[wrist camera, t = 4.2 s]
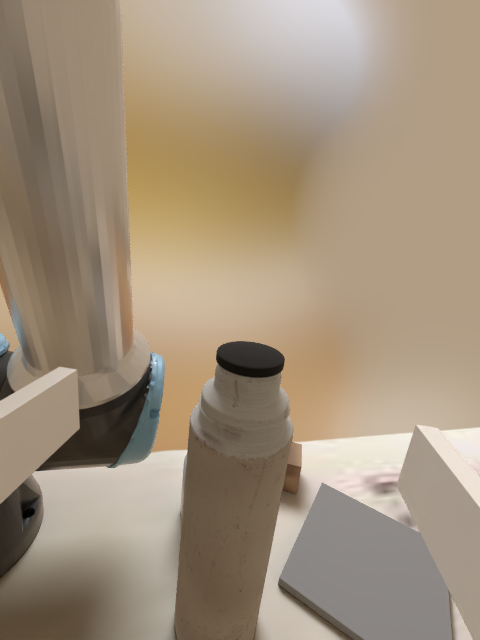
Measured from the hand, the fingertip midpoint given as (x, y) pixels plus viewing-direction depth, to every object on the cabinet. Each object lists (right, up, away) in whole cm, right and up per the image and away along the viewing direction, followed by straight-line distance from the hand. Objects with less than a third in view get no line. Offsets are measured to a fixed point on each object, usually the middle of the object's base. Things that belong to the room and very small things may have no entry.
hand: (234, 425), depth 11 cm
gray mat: (+15, -25, +23) cm, 38 cm away
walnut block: (+7, -21, +35) cm, 41 cm away
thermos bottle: (-2, -25, +17) cm, 31 cm away
